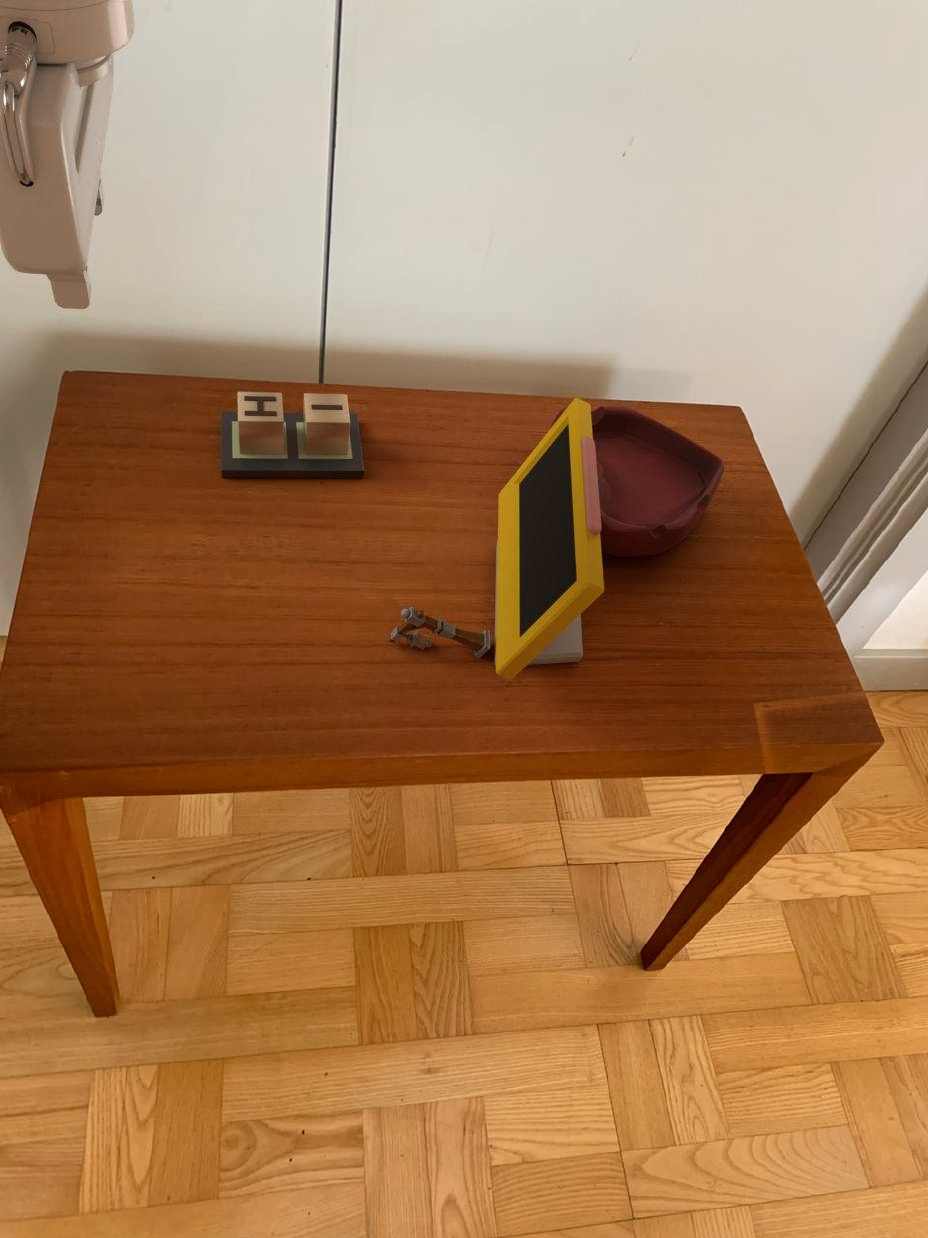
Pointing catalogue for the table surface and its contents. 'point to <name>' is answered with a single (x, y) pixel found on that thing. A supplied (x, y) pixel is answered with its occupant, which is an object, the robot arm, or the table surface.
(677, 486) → the ashtray
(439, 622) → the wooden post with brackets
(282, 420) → the tile
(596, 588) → the toy computer monitor
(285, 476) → the dark grey flat block
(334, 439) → the tile
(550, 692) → the table surface
